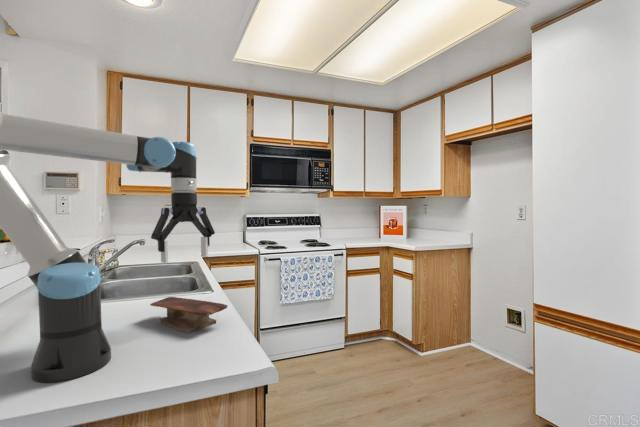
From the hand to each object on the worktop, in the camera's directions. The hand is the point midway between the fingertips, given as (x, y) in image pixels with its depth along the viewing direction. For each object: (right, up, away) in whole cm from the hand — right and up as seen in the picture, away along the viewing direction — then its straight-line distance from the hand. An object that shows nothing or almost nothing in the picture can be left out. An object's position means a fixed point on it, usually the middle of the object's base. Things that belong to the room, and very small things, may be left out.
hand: (185, 259), depth 107 cm
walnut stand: (0, -20, +1) cm, 20 cm away
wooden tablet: (+1, -15, 0) cm, 15 cm away
